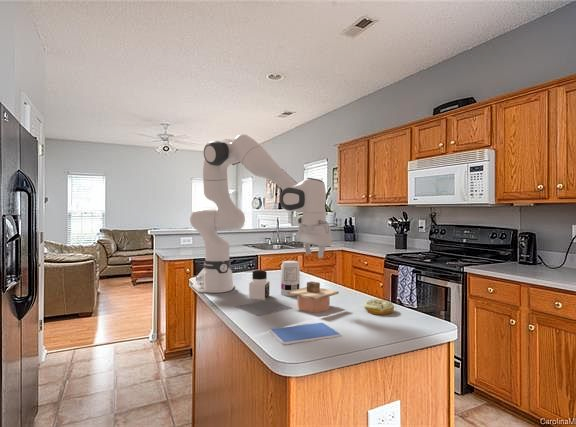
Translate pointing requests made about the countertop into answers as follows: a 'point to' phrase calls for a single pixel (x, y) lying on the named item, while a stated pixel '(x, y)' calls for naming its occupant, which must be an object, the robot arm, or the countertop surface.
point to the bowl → (313, 304)
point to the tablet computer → (303, 333)
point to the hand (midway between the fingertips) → (314, 255)
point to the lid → (313, 291)
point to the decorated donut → (379, 307)
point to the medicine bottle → (259, 285)
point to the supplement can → (289, 277)
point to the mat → (263, 307)
